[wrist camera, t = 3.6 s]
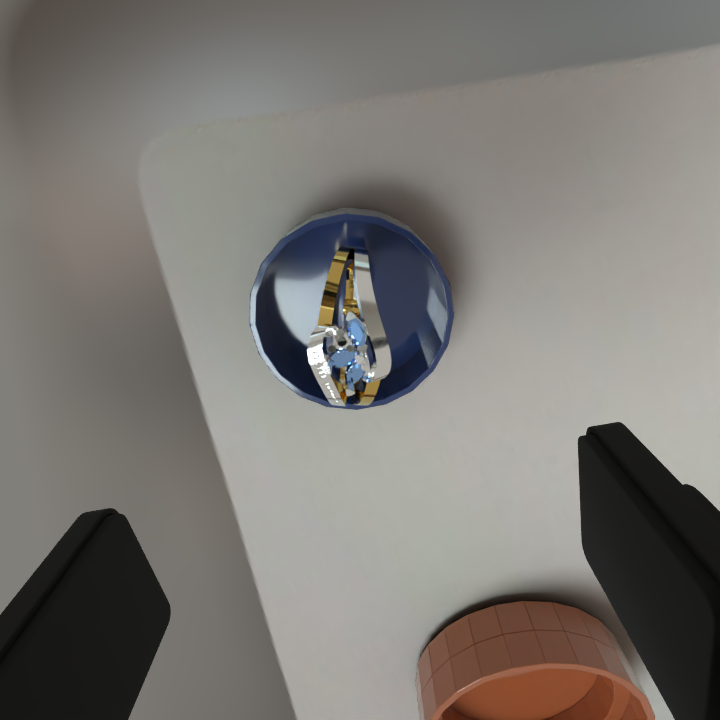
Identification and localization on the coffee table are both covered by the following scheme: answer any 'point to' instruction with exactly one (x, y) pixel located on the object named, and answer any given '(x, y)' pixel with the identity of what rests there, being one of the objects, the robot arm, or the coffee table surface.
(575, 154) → the coffee table surface
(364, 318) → the ring
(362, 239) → the blue round dish
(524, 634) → the bowl
